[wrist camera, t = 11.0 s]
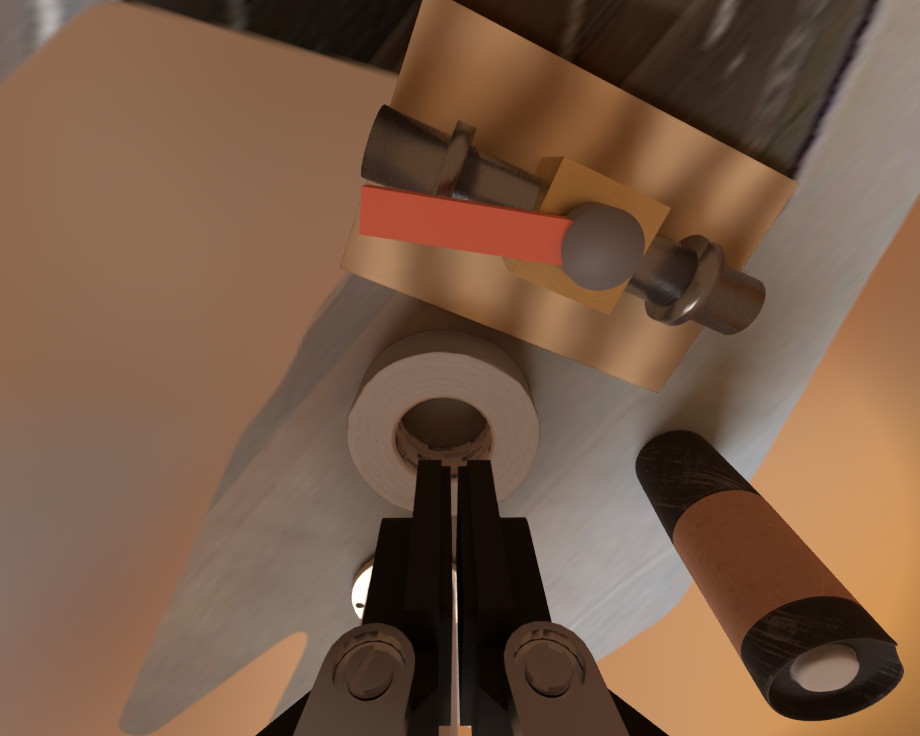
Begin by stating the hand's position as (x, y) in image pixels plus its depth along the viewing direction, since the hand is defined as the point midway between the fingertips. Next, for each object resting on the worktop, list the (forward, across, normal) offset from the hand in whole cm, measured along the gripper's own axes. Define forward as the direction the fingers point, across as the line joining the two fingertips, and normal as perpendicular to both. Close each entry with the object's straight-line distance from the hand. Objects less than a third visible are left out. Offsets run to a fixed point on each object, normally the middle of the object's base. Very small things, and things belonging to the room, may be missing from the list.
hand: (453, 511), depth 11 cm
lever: (+19, -3, -5) cm, 19 cm away
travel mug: (+28, -21, +17) cm, 39 cm away
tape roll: (+28, 0, +12) cm, 30 cm away
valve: (+26, -8, -4) cm, 28 cm away
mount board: (+26, -8, -4) cm, 28 cm away
